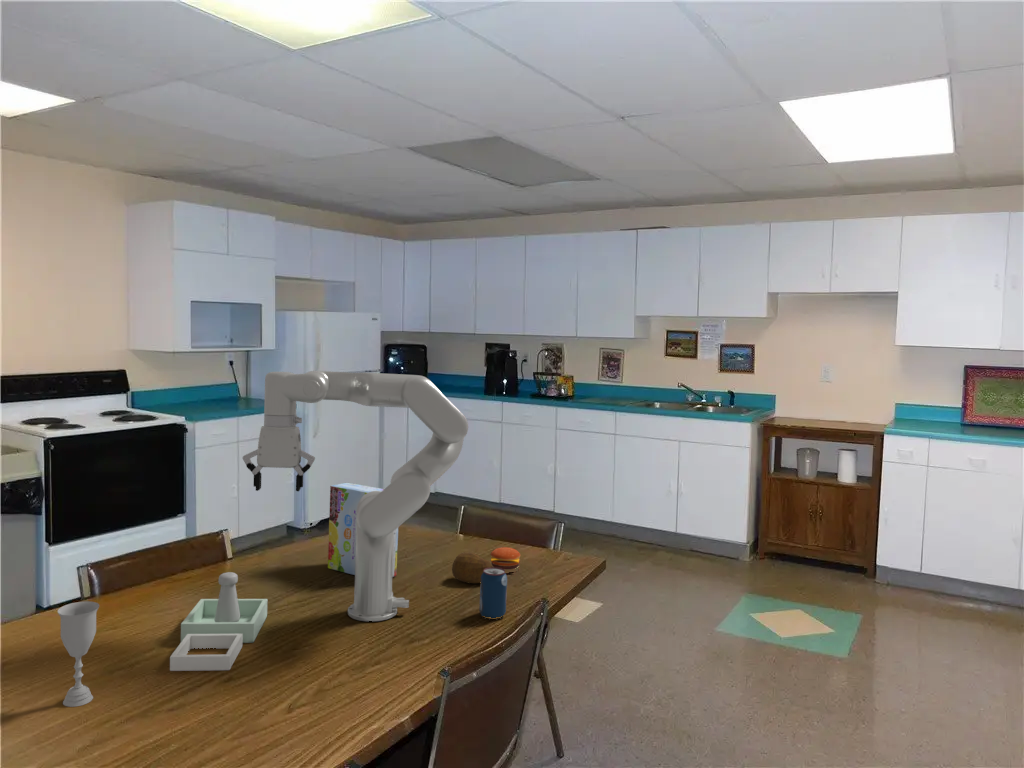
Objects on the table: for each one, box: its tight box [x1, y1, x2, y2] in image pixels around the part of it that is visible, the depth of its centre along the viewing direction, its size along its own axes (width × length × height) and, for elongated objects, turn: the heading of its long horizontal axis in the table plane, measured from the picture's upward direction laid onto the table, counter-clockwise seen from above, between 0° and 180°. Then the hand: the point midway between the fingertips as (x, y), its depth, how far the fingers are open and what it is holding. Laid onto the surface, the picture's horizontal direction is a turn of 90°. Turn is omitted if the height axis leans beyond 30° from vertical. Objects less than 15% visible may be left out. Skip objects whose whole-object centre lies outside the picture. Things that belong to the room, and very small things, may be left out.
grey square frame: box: [169, 634, 244, 672], centre depth 163 cm, size 12×12×3 cm
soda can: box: [478, 567, 508, 618], centre depth 195 cm, size 7×7×12 cm
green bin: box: [180, 598, 268, 644], centre depth 179 cm, size 16×16×4 cm
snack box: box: [327, 482, 399, 578], centre depth 225 cm, size 22×9×26 cm, turn 58°
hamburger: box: [489, 546, 522, 570], centre depth 235 cm, size 9×10×7 cm
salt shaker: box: [214, 571, 240, 622], centre depth 179 cm, size 6×6×13 cm
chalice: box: [57, 600, 100, 708], centre depth 143 cm, size 7×7×18 cm
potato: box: [451, 552, 492, 584], centre depth 220 cm, size 8×12×9 cm
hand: (278, 489), depth 186 cm, fingers open, 9 cm apart
